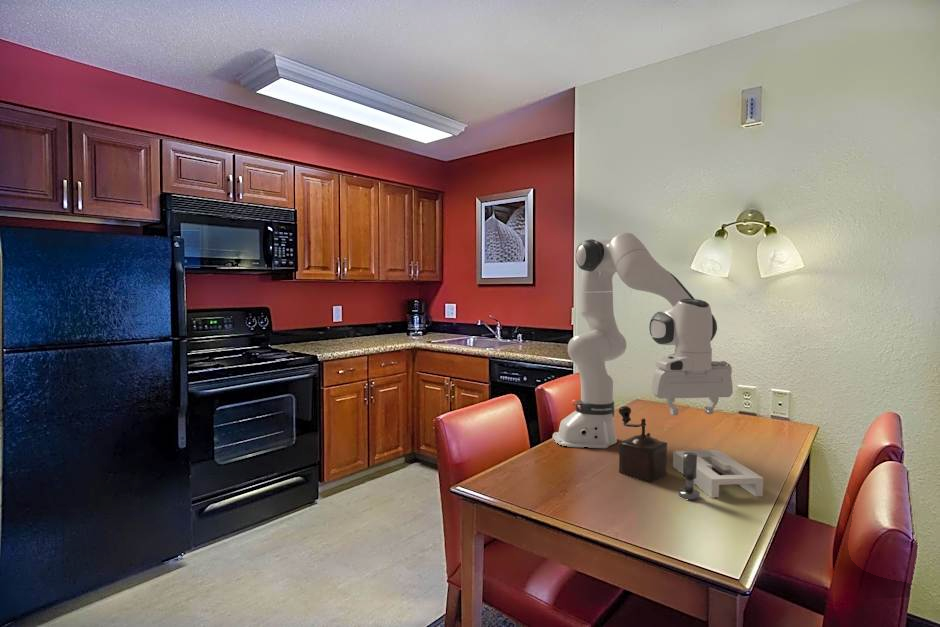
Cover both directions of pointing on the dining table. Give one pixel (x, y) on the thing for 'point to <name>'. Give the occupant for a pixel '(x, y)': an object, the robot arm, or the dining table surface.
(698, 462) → the keyhole board
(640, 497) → the dining table surface
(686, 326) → the robot arm
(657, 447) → the manual coffee grinder
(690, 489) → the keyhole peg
